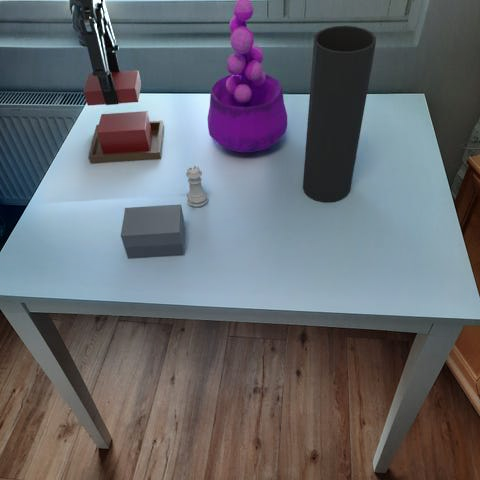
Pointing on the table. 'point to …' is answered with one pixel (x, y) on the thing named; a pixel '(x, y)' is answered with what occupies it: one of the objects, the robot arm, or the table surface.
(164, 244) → the gray box
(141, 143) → the burgundy book
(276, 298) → the table surface
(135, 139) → the burgundy book
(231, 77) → the decorative plant
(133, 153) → the book tray
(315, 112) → the vase
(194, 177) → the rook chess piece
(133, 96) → the burgundy book
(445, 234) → the table surface
